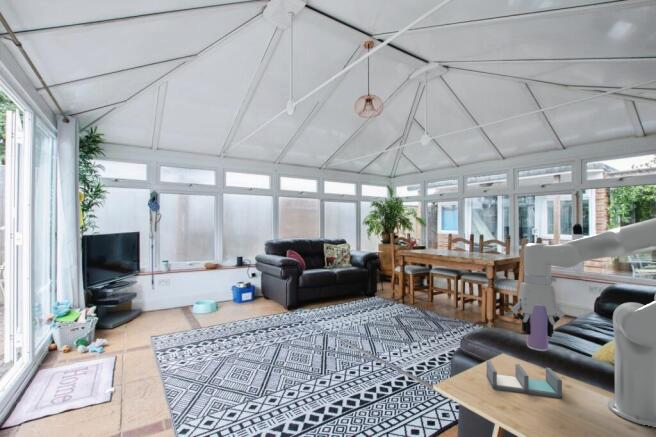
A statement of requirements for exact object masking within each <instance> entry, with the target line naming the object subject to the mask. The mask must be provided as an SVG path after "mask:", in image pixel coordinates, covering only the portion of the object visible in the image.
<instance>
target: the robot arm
mask: <svg viewBox="0 0 656 437" xmlns="http://www.w3.org/2000/svg"><path fill="white" fill-rule="evenodd" d="M523 248H524V249H523V282H521V283H520V285H519V286H520V287H519V292H518V302H517V303H516V304H515V305H513V306H512V307H511V308H510V311H512V312H513V314H515V315H516V317H517V318H519V319H520V320H521V330H522V332H523V333H524V334H525V335H526V336H527V335H528V334H529V323H528V322H527V320H528V318H529V316H530V314H532V312H533V308H534V306H535V304H542V305H544V306H545V307H546V308H547V315H548V338H552V337H553V335H554V326H555V325H556V323H557V322H559V321H560V319H562V318H563V317H564V316H566V314H565V312H564V311H563V310H562V309H560V307H559V306H558V305H557V304H558V303H557V297H556V291H555V286H554V285H553V283H556V282H557V278H556V277H553V276H552V266H553V267H557V268H558V267H559V268H565V269H571V268H575V267H577V266H578V265H580V263H584V262H589V261H592V260H598V259H604V258H621V257H622V258H623V257H630V256H635V255H639V254H643V253H647V252H653V251H656V217H655V218H654V217H653V218H650V219H647V220H643V221H639V222H636V223H631V224H627V225H623V226H619V227H616V228H613V229H612V228H611V229H608V230H605V231H603V232H600V233H597V234H592V235H589V236H586V237H581V238H578V239H574V240H573V239H572V240H570V241H566V242H562V243H559V244H547V243H541V242H539V243H538V242H537V243H536V242H532V243H531V242H530V243H529V242H528V243H526V244H525V245H524V247H523ZM653 299H654V301H652V302H649V303H646V305H645V304H642V303H639V302H629V301H628V302H624V303H622V304H620V305H618V306H617V307H616V308H615V310H614V311H613V315H612V327H613V334H614V335H613V338H614V398H611V399H609V400H608V401H607V406H608V408H609V409H610V410H611V411H612V413H614V414H616V415H617V416H618V417H621V418H623V419H625V420H628V421H630V422H632V423H635V424H638V425H641V424H642V426H645V425H648V426H647V427H649V426H654V427H653V428H655V426H656V292H655V294H654V298H653ZM519 311H521V312H522V314H521V313H520V312H519Z"/></svg>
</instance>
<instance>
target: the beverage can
mask: <svg viewBox="0 0 656 437" xmlns="http://www.w3.org/2000/svg"><path fill="white" fill-rule="evenodd" d="M527 322H528V323H529V334H528V335H526V345H527V347H528V348H529V349H531V350H535V351H539V352H545V351H547V350H548V349H549V336H548V315H547V308H546V307H545V306H544V305H542V304H535V306H534V308H533V312H532V314H530V316H529V318H528V320H527Z"/></svg>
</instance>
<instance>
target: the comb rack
mask: <svg viewBox="0 0 656 437" xmlns="http://www.w3.org/2000/svg"><path fill="white" fill-rule="evenodd" d="M486 378H487V379H488V382H489V384H490V386H491V388H492V389H493V390H494V389H495V390H501V391H508V392H509V391H510V392H516V393H522V394H523V393H524V394H530V395H536V396H543V397H551V398H557V399H563V380H562V379H561V378H560V377H559V376H558V374H556V372H554V371H553V370H552V368H550V367H545V380H544V379H543V380H540V379H534V378H529V374H527V372H526V371H525V369H524V368H523V367H522V366H521V365H520V363H515V376H512V375H504V374H498V372H497V370H496V368H495V367H494V364H493V363H492V362H491V360H488V359H487V360H486Z"/></svg>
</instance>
